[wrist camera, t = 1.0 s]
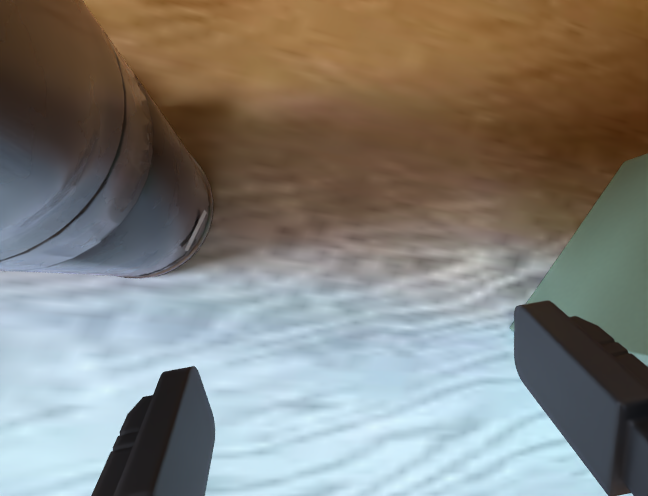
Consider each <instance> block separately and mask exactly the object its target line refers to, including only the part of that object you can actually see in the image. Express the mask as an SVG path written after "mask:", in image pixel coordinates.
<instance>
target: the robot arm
mask: <svg viewBox="0 0 648 496" xmlns="http://www.w3.org/2000/svg"><path fill="white" fill-rule="evenodd" d="M212 217H213V196H212V191H211V188H210V184H209V182H208V179H207V177H206V175H205V173H204V172H203V170H202V169H201V167H200V166H199V164H198V163H197V162H196V160H195V159H194V158H193V157H192V156H191V155H190V154H189V152H188V151H187V149H186V148H185V146H184V145H183V143H182V142H181V141H180V139H179V138H178V136H177V135H176V133H175V132H174V130H173V129H172V128H171V126H170V125H169V123H168V122H167V120H166V119H165V117H164V116H163V115H162V113H161V112H160V110H159V109H158V107H157V106H156V104H155V103H154V102H153V100H152V99H151V97H150V96H149V94H148V93H147V91H146V90H145V89H144V87H143V86H142V84H141V83H140V81H139V80H138V78H137V77H136V76H135V74H134V73H133V72H132V71H131V69H130V68H129V66H128V65H127V63H126V62H125V60H124V59H123V58H122V56H121V55H120V53H119V52H118V50H117V49H116V48H115V46H114V45H113V43H112V42H111V40H110V39H109V37H108V36H107V35H106V33H105V32H104V30H103V29H102V27H101V26H100V25H99V23H98V22H97V20H96V19H95V17H94V16H93V14H92V13H91V12H90V10H89V9H88V7H87V6H86V5H85V3H84V2H83V0H0V271H23V272H45V273H67V274H89V275H110V276H120V277H125V278H148V277H154V276H159V275H162V274H165V273H167V272H170V271H172V270H174V269H176V268H178V267H179V266H181V265H182V264H184V263H185V262H186V261H188V260H189V259H190V258H191V257H192V256H193V255H194V254H195V253H196V252H197V250H198V249H199V248H200V246H201V245H202V244H203V242H204V240H205V238H206V236H207V234H208V232H209V229H210V226H211V222H212ZM514 359H515V365H516V369H517V372H518V374H519V376H520V379H521V380H522V382H523V383H524V385H525V386H526V387H527V389H528V390H529V391H530V393H531V394H532V395H533V397H534V398H535V399H536V401H537V402H538V403H539V405H540V406H541V407H542V409H543V410H544V411H545V412H546V414H547V415H548V416H549V418H550V419H551V420H552V422H553V423H554V424H555V426H556V427H557V428H558V430H559V431H560V432H561V434H562V435H563V436H564V438H565V439H566V440H567V442H568V443H569V444H570V446H571V447H572V448H573V449H574V451H575V452H576V453H577V455H578V456H579V457H580V459H581V460H582V461H583V463H584V464H585V465H586V467H587V468H588V469H589V471H590V472H591V473H592V475H593V476H594V477H595V479H596V480H597V481H598V483H599V484H600V485H601V486H602V488H603V489H604V490H605V492H606V493H607V494H608V496H618V495H623V494H628V493H632V494H633V495H634V496H648V367H647V366H646V365H645V364H644V363H643V362H641V361H640V360H639V359H638V358H637V357H635V356H634V355H633V354H632V353H630V354H629V353H628V350H627V349H626V348H624V347H623V346H622V345H621V344H620V343H618V342H615V341H614V338H612V337H611V336H610V335H609V334H608V333H606V332H605V331H604V330H603V329H601V328H600V327H599V326H598V325H595V324H593V323H591V322H589V321H586V320H584V319H582V318H580V317H577V316H572V317H569V316H567V315H566V314H565V313H564V312H563V311H562V310H561V309H559V308H558V307H557V306H556V305H555V304H554V303H553V302H551V301H549V300H546V301H540V302H535V303H530V304H525V305H519V306H517V307H516V308H515V312H514ZM214 441H215V423H214V417H213V414H212V410H211V407H210V404H209V401H208V398H207V396H206V393H205V390H204V387H203V384H202V381H201V378H200V375H199V372H198V370H197V368H196V367H194V366H192V367H187V368H182V369H176V370H171V371H166V372H163V373H162V374H161V376H160V379H159V381H158V384H157V387H156V389H155V392H154V394H153V395H151V396H146V397H143V398H142V399H141V400H140V401H139V402H138V403H137V404H136V406H135V407H134V408H133V409H132V410H131V411H130V412H129V413H128V415H127V417H126V419H125V421H124V424H123V426H122V428H121V430H120V436H118V437H117V439H116V442H115V444H114V446H113V451H112V452H111V453H110V455H109V457H108V460H107V462H106V464H105V466H104V469H103V471H102V473H101V475H100V478H99V480H98V482H97V484H96V487H95V489H94V491H93V493H92V496H205V491H206V485H207V480H208V474H209V469H210V463H211V458H212V453H213V447H214Z"/></svg>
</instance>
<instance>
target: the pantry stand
mask: <svg viewBox="0 0 648 496" xmlns="http://www.w3.org/2000/svg"><path fill="white" fill-rule="evenodd" d="M546 300H549V301H551V302H553V303H554V304H555V305H556V306H557V307H558V308H559V309H561V310H562V311H563V312H564V313H565V314H566V315H567V316H569V317H572V316H577V317H580V318H582V319H584V320H586V321H589V322H591V323H593V324H595V325H598V326H599V327H600V328H601V329H603V330H604V331H605V332H606V333H608V334H609V335H610V336H611V337H612V338H614V341H615V342H618V343H620V344H621V345H622V346H623V347H624V348H626V349H627V350H628V353H629V354H630V353H632V354H633V355H634V356H635V357H637V358H638V359H639V360H640V361H641V362H643V363H644V364H645V365H646V366H647V367H648V153H647V154H645V155H642V156H639V157H636V158H633V159H630V160H627V161H625V162H624V163H623V164H622V166H621V167H620V169H619V170H618V171H617V173H616V174H615V176H614V177H613V179H612V180H611V182H610V183H609V185H608V186H607V187H606V189H605V190H604V192H603V193H602V195H601V196H600V198H599V199H598V200H597V202H596V203H595V205H594V206H593V208H592V209H591V211H590V212H589V213H588V215H587V216H586V218H585V219H584V221H583V222H582V224H581V225H580V226H579V228H578V229H577V231H576V232H575V234H574V235H573V237H572V238H571V240H570V241H569V242H568V244H567V245H566V247H565V248H564V250H563V251H562V253H561V254H560V255H559V257H558V258H557V260H556V261H555V263H554V264H553V266H552V267H551V268H550V270H549V271H548V273H547V274H546V276H545V277H544V279H543V280H542V282H541V283H540V284H539V286H538V287H537V289H536V290H535V292H534V293H533V295H532V296H531V297H530V299H529V300H528V302H527V303H526V304H530V303H535V302H540V301H546ZM510 329H511V330H512V331H513V332H514V322H513V324H512V325H511V326H510Z"/></svg>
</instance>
